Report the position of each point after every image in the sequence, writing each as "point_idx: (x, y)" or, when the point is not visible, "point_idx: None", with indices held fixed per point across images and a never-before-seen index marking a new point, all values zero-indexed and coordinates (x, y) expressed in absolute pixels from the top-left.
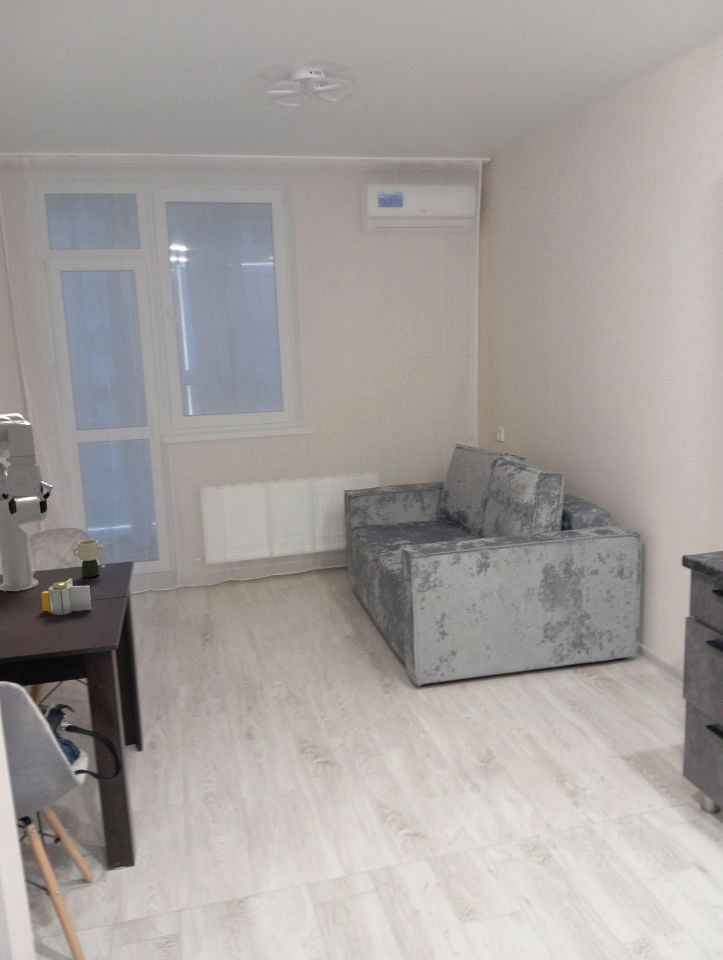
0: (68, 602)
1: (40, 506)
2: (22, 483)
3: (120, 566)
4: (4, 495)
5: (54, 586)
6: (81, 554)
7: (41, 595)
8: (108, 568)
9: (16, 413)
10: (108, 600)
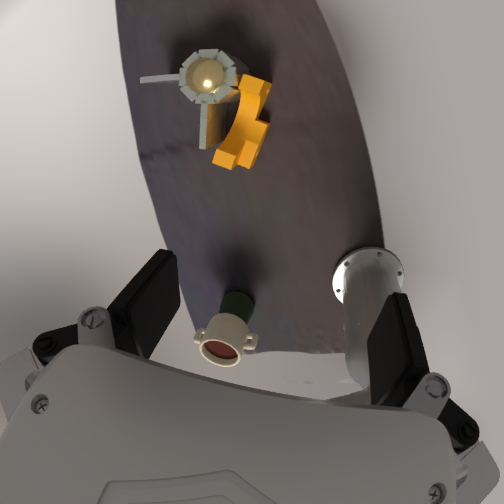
0: None
1: (143, 277)
2: None
3: None
4: (463, 431)
5: (213, 59)
6: (235, 326)
7: (265, 81)
8: None
9: None
10: (154, 138)
